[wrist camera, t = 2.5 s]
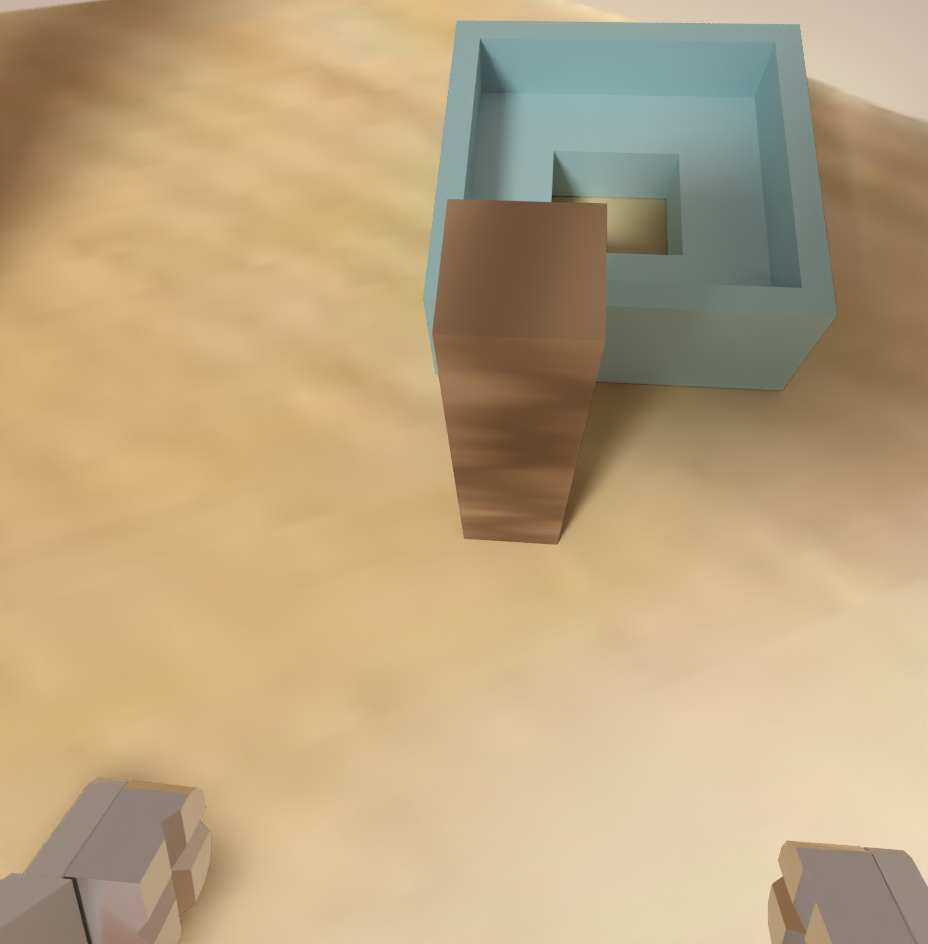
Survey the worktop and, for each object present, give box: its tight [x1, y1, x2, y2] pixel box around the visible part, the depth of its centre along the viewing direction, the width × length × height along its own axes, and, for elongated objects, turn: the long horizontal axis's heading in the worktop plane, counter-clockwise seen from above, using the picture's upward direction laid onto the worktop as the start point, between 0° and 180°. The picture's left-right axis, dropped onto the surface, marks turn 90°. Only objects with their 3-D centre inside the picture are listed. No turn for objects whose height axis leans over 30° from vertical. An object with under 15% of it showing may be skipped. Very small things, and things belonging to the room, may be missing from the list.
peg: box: [432, 199, 607, 544], centre depth 25 cm, size 4×4×16 cm
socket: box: [423, 21, 837, 391], centre depth 35 cm, size 16×16×6 cm
